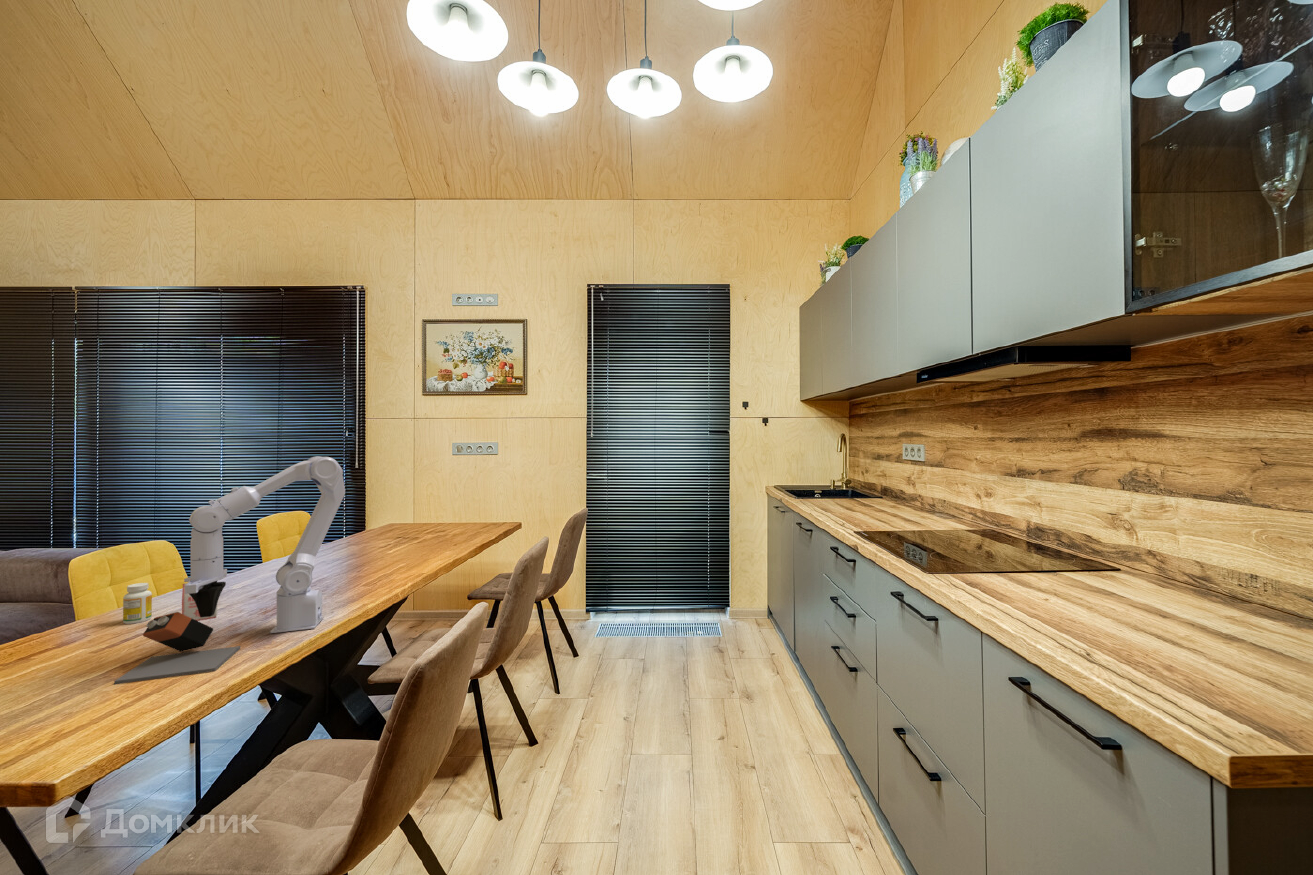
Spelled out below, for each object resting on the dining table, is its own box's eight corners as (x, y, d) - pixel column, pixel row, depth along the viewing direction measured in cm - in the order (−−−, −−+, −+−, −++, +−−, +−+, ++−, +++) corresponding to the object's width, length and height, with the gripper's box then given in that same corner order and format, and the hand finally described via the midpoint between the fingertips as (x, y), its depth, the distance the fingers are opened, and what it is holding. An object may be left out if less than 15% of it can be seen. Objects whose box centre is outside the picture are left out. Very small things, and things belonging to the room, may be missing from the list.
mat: (240, 648, 116) (240, 646, 116) (214, 671, 105) (214, 668, 105) (151, 659, 110) (151, 656, 110) (114, 684, 99) (114, 681, 99)
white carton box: (183, 619, 135) (183, 582, 135) (217, 614, 139) (217, 578, 139) (181, 623, 132) (181, 585, 132) (216, 617, 136) (215, 580, 136)
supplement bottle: (130, 625, 131) (130, 588, 131) (118, 623, 133) (118, 586, 133) (156, 618, 136) (156, 582, 136) (144, 616, 138) (144, 581, 138)
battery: (204, 647, 113) (160, 628, 106) (180, 652, 114) (136, 634, 107) (215, 628, 116) (174, 608, 109) (192, 634, 117) (150, 615, 111)
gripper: (202, 552, 123) (202, 608, 123) (167, 566, 110) (167, 629, 109) (237, 550, 126) (237, 604, 125) (207, 563, 112) (207, 624, 112)
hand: (207, 616), depth 118 cm, fingers closed
